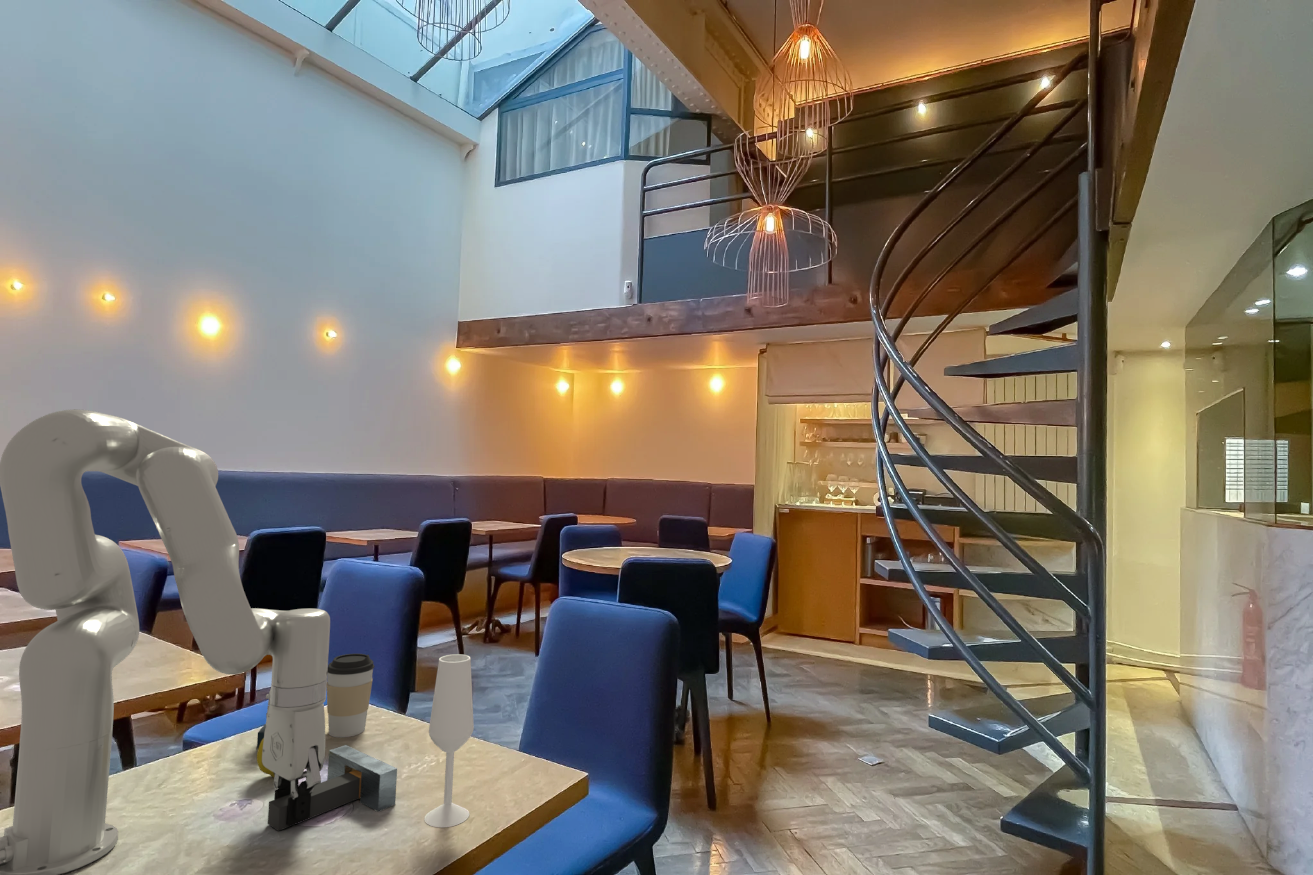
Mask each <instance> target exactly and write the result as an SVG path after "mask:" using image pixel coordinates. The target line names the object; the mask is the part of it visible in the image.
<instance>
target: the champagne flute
mask: <svg viewBox="0 0 1313 875" xmlns="http://www.w3.org/2000/svg"><path fill="white" fill-rule="evenodd" d="M471 661H472V660H471V656H469V655H467V654H457V653H456V654H447V655H443V656H441V657H439V659H438V665H437V672H436V679H435V685H434V693H433V699H432V707H431V713H430V721H429V727H428V735H429V737H430V739H431V741H432V742H433V744H434V745H435V746H436V747H437V748H439V749H440V750H441V751H442V752H444V753H445V769H444V770H445V774H444V791H443V792H444V794H443V803H442V804H440V805H439V806H437V807H435V808H433V809H431V810H430V811H428V812H427V813H426V814H425V816H424V822H425V823H426V824H427V825H428V826H431V827H434V828H449V827H451V828H452V827H454V826H458V825H461V824H462V823H464V822H465V821H466V820H467V819H468V818H470V811H469V810H468V809H467V808H466V807H463V806H462V805H458V804H457V803H454V802H453V785H454V784H453V782H454V762H455V752H457V751H458V750H459V749H460V748H461V747H463V746H464V745H465V744H466V743H467V742H468V741H469V739H470V738H471V736H472V734H473V732H474V729H475V728H474V725H475V724H474V707H473V704H474V702H473V687H472V686H473V684H472V683H473V681H472V663H471Z"/></svg>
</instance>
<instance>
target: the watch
mask: <svg viewBox="0 0 1313 875" xmlns="http://www.w3.org/2000/svg"><path fill="white" fill-rule="evenodd" d="M270 697H271V689H270V690H269V693H267V694H266V695H265V699H268V701H267V711H266V716H265V717H266V720H267V714H268V710H269V706H270ZM265 726H266V723H264V724H263V726H262V727H261V728H260V729H259V730H258V732H257V737H256V738H257V739H256V740H257V741H256V750H257V749H258V748H259V746H260V743H261V741H262V740H263V738H264V733H265Z"/></svg>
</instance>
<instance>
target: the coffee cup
mask: <svg viewBox="0 0 1313 875" xmlns="http://www.w3.org/2000/svg"><path fill="white" fill-rule="evenodd" d="M374 669H375V664H374V660H373V659H371V658H370V655H369V654H365V653H346V654H342V655H337V656H335V657H334V658H333V660H332V661H331V662H329V663H328V670H327V688H326V708H327V709H326V711H327V716H328V718H327V719H328V721H327V722H328V735H329V736H330V737H334V738H349V737H354V736H357V735H360V734H362V733H364V732H365V731H366V724H367V718H368V709H369V705H370V699H371V692H372V686H373V679H374V678H373V674H374V673H373V672H374Z"/></svg>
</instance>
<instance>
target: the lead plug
mask: <svg viewBox="0 0 1313 875" xmlns="http://www.w3.org/2000/svg"><path fill="white" fill-rule="evenodd" d="M361 774H362V772H359V771H357V770H354V771H352V772H349V773H346V774H343V775H341V776H338V777H335V778H333V779H330V780H327V779H326V780H325V781H321V783H320V784H318V785H316V786H314V788H313V792H312V793H311V805H310V817H309V818H308V819H307V820H309V819H311V818H314V817H316V816H318V815H322V814H324V813H326V812H329V811H331V810H333V809H336V808H339V807H340V806H341V807H342V806H343V805H346V804H349V803H351V802H353V801H356V800H358V799H359V800H360V792H361ZM289 797H291V794H289V795H287V796H284V797H281V798H278V799H275V800H274V799H273V800H270V801H268V809H267V825H269V826H270V827H272V828H273V829H275V830H276V831H278V832H279V831H281V830H284V829H287V828H289V827H290V826H288V825H287V824H286V821H287V804H288V798H289Z"/></svg>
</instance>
